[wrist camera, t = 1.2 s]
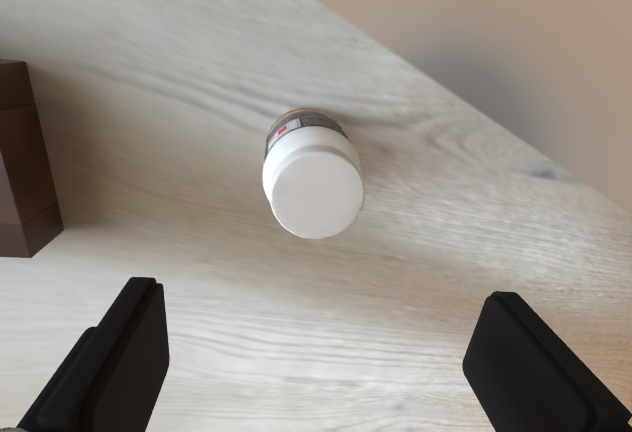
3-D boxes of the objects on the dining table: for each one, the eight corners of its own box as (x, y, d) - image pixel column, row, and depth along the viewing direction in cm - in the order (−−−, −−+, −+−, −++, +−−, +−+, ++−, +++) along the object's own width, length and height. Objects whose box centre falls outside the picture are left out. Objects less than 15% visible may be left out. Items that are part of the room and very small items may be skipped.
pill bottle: (249, 145, 26) (232, 197, 17) (307, 87, 24) (321, 112, 16) (303, 197, 28) (313, 268, 19) (359, 147, 27) (398, 198, 18)
